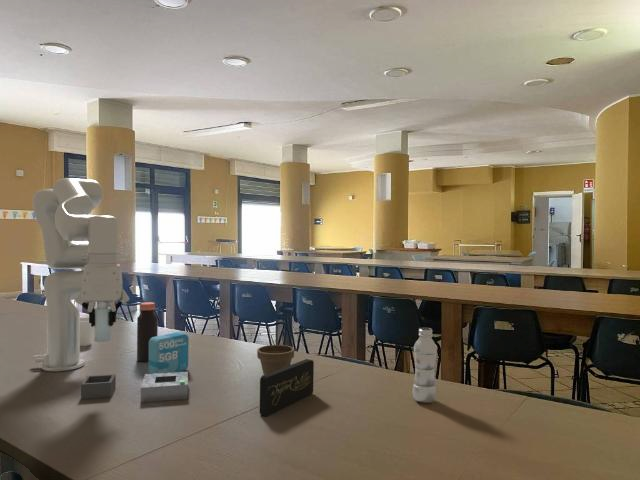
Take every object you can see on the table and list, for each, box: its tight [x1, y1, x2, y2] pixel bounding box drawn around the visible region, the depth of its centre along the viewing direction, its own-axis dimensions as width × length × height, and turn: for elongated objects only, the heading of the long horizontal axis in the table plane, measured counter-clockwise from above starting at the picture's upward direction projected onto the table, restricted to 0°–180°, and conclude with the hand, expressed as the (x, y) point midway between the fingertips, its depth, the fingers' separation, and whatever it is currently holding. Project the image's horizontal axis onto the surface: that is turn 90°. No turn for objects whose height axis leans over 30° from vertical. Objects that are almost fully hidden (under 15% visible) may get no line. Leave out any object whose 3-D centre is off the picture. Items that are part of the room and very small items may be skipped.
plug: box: [94, 301, 111, 343], centre depth 132 cm, size 4×4×12 cm
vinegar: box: [136, 301, 159, 363], centre depth 167 cm, size 7×7×20 cm
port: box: [140, 371, 189, 404], centre depth 133 cm, size 12×12×5 cm
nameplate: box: [259, 358, 315, 417], centre depth 127 cm, size 21×2×10 cm, turn 146°
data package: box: [148, 332, 190, 374], centre depth 152 cm, size 12×4×12 cm, turn 142°
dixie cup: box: [80, 316, 95, 347], centre depth 187 cm, size 8×8×10 cm
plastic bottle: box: [412, 327, 438, 404], centre depth 130 cm, size 6×7×20 cm
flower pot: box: [256, 344, 295, 375], centre depth 145 cm, size 12×11×10 cm
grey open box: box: [80, 373, 117, 400], centre depth 132 cm, size 8×8×4 cm
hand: (102, 324), depth 132 cm, fingers closed on plug, 4 cm apart
